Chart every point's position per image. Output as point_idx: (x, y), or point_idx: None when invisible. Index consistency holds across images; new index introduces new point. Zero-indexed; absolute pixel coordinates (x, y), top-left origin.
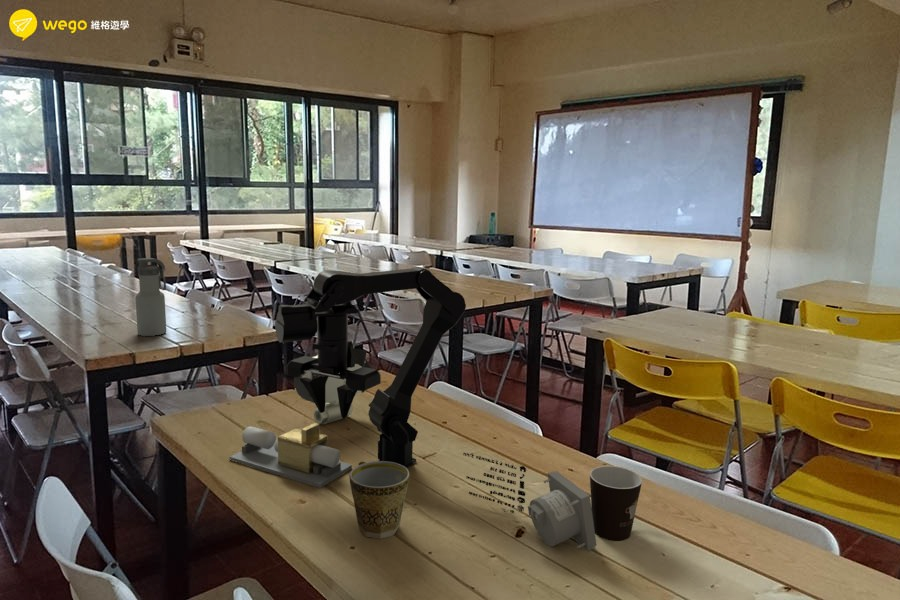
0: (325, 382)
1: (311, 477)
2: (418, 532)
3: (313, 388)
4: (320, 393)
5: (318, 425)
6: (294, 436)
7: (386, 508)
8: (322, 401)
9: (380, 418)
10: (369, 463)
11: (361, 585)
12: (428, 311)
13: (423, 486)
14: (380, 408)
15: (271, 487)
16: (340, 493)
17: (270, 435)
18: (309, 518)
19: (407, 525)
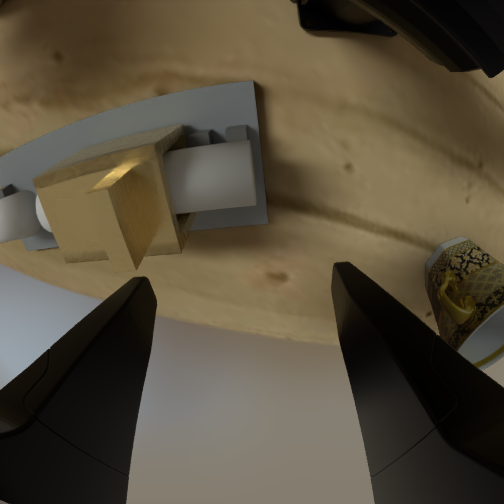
0: (16, 439)
1: (219, 211)
2: (497, 240)
3: (121, 487)
4: (102, 412)
5: (111, 192)
6: (85, 231)
7: (489, 319)
8: (126, 349)
9: (456, 51)
10: (479, 326)
11: None
12: None
13: (468, 84)
14: (469, 10)
15: (177, 273)
16: (328, 209)
17: (18, 216)
18: (333, 305)
19: (483, 234)
